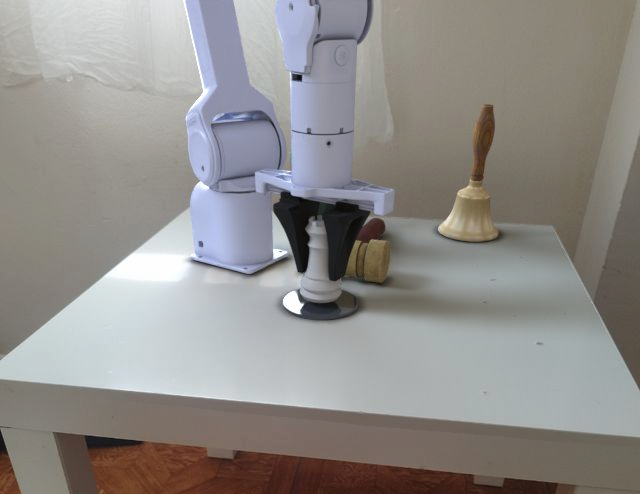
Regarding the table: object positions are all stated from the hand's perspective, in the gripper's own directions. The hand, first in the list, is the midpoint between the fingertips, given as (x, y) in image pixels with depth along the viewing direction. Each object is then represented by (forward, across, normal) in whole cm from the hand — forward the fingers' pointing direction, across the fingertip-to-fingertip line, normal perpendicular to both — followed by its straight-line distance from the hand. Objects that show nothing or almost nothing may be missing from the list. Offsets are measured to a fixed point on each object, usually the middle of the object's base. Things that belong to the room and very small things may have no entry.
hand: (320, 273), depth 63 cm
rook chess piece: (+3, 0, 0) cm, 3 cm away
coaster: (+3, 0, 0) cm, 3 cm away
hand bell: (+3, +4, +32) cm, 32 cm away
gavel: (+3, -4, +16) cm, 17 cm away
